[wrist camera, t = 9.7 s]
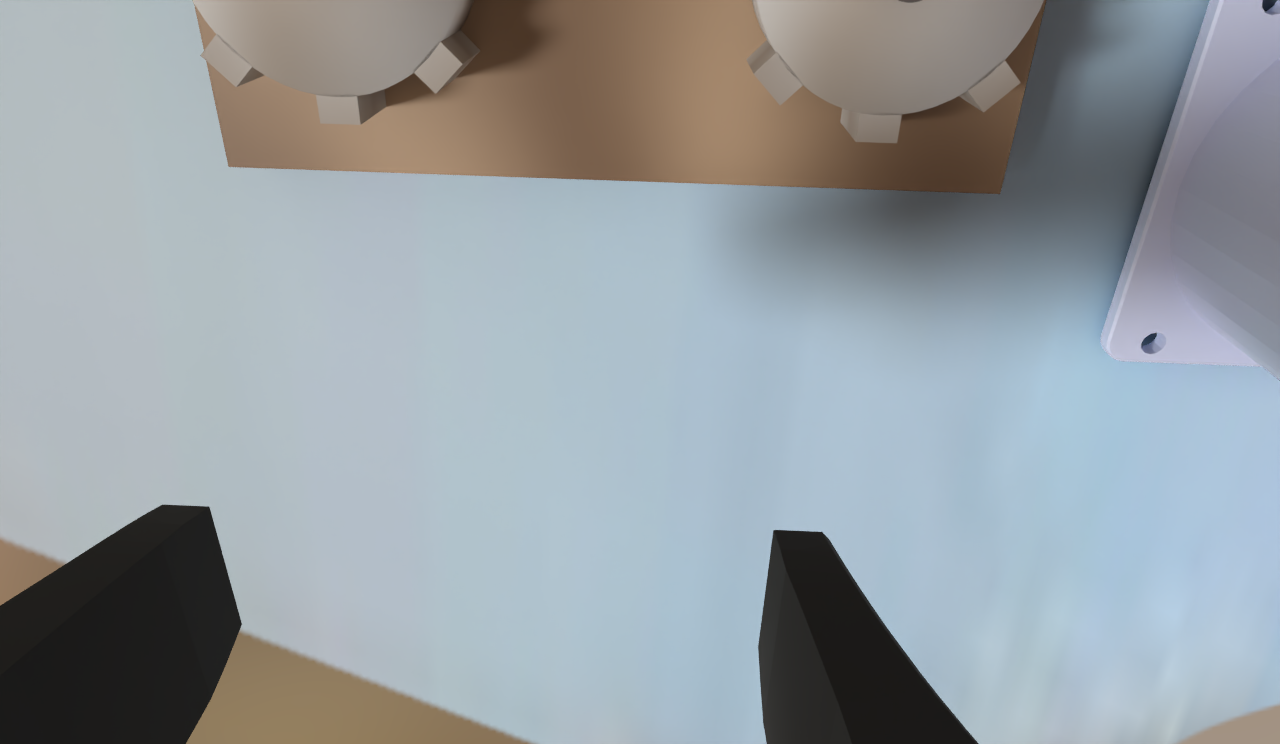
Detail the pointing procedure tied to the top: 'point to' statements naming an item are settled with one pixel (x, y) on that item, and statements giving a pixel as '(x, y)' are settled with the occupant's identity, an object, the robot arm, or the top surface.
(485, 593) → the top surface
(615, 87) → the gear board
